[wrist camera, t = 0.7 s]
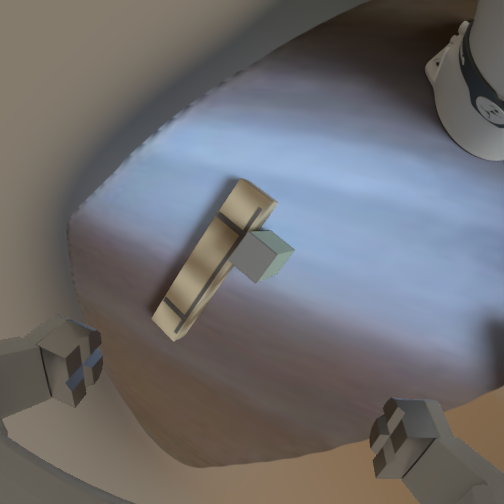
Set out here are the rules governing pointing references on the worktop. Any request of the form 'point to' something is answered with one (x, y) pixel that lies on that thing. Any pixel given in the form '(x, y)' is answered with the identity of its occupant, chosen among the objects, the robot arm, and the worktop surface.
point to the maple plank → (212, 258)
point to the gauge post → (261, 255)
